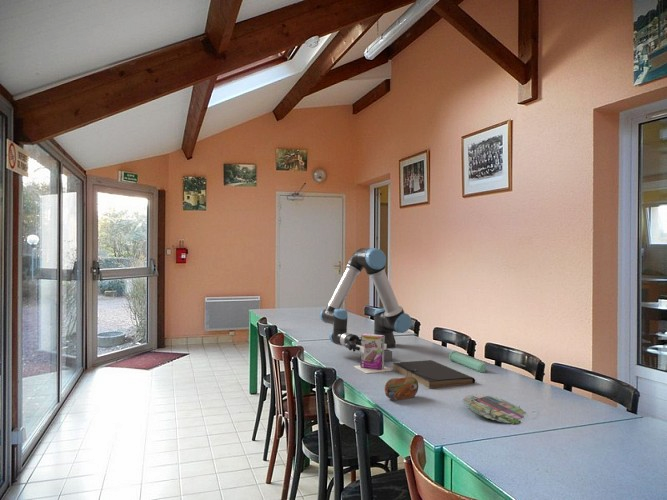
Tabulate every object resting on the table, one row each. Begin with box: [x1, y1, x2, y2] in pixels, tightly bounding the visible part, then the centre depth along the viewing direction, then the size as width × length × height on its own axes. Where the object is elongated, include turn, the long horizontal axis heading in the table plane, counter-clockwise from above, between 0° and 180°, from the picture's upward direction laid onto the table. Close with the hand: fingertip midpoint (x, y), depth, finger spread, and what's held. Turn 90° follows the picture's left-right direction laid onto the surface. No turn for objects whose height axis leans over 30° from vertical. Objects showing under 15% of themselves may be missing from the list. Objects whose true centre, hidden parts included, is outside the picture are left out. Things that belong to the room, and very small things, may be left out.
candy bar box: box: [359, 333, 385, 370], centre depth 228 cm, size 11×5×16 cm, turn 70°
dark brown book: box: [392, 359, 476, 389], centre depth 216 cm, size 33×4×24 cm
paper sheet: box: [353, 364, 393, 375], centre depth 228 cm, size 14×14×1 cm
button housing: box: [384, 348, 393, 362], centre depth 248 cm, size 10×10×5 cm
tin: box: [384, 375, 419, 402], centre depth 183 cm, size 15×3×8 cm, turn 117°
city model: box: [462, 394, 527, 425], centre depth 168 cm, size 25×23×6 cm
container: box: [448, 350, 487, 373], centre depth 234 cm, size 6×6×25 cm
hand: (375, 348), depth 226 cm, fingers open, 13 cm apart
